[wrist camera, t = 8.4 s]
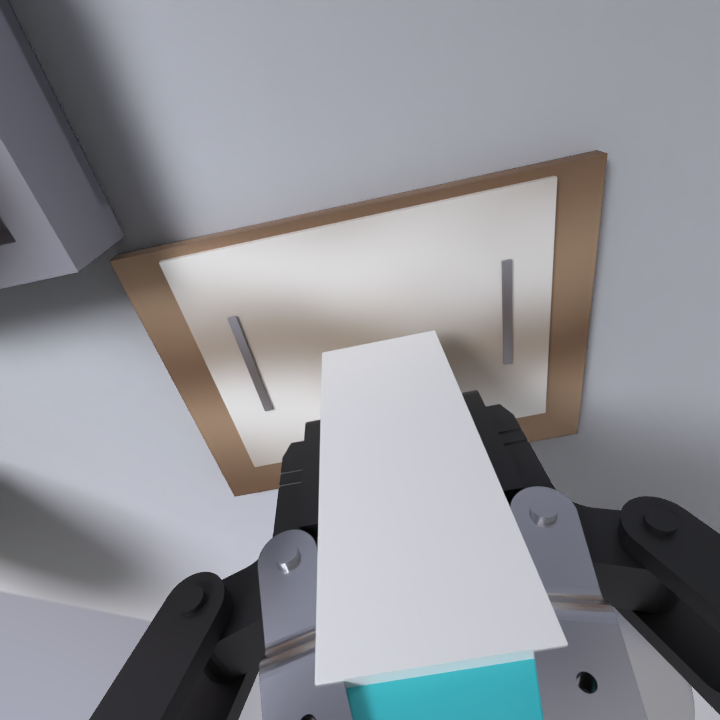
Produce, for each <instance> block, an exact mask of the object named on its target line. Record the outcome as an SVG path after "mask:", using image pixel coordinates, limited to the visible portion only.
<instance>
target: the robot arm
mask: <svg viewBox="0 0 720 720" xmlns="http://www.w3.org/2000/svg"><path fill="white" fill-rule="evenodd" d="M462 395H463V398H464V400H465V403H466V405H467V407H468V410H469V412H470V414H471V417H472V419H473V421H474V424H475V426H476V428H477V431H478V433H479V435H480V438H481V440H482V442H483V445H484V447H485V450H486V452H487V454H488V457H489V459H490V461H491V464H492V466H493V468H494V471H495V473H496V475H497V478H498V480H499V482H500V485H501V487H502V490H503V492H504V494H505V497H506V499H507V501H508V504H509V506H510V508H511V511H512V513H513V515H514V518H515V520H516V522H517V525H518V527H519V530H520V532H521V534H522V537H523V539H524V541H525V544H526V546H527V548H528V551H529V553H530V555H531V558H532V560H533V562H534V565H535V567H536V569H537V572H538V574H539V577H540V579H541V581H542V584H543V586H544V588H545V591H546V593H547V595H548V598H549V600H550V602H551V605H552V607H553V609H554V612H555V614H556V617H557V619H558V621H559V624H560V626H561V628H562V631H563V633H564V635H565V638H566V640H567V642H568V645H566V646H559V647H553V648H547V649H541V650H534V655H533V660H534V667H535V674H536V681H537V687H538V694H539V701H540V708H541V715H542V720H648V718H647V714H646V711H645V708H644V704H643V701H642V698H641V695H640V691H639V688H638V685H637V681H636V678H635V675H634V672H633V668H632V665H631V662H630V658H629V655H628V652H627V649H626V645H625V642H624V639H623V635H622V632H621V629H620V626H619V622H618V619H617V617H616V614H615V612H614V609H613V607H615V609H616V610H617V611H618V612H619V613H620V614H621V615H622V616H623V617H624V618H625V619H626V620H627V621H628V622H629V623H630V624H631V625H632V626H633V627H634V628H635V629H636V630H637V631H638V632H639V633H640V634H641V635H642V636H643V637H644V638H645V639H646V640H647V641H648V642H649V643H650V644H651V645H652V646H653V647H654V648H655V649H656V651H657V652H658V653H659V654H660V655H661V656H662V657H663V658H664V659H665V660H666V661H667V662H668V663H669V664H670V665H671V666H672V667H673V668H674V669H675V670H676V671H677V672H678V673H679V674H680V675H681V676H682V677H683V678H684V679H685V680H686V681H687V682H688V683H689V684H690V685H691V686H692V687H693V688H694V689H695V690H696V691H697V692H698V693H699V694H700V695H701V696H702V697H703V698H704V699H705V700H706V701H707V702H708V703H709V704H710V705H711V706H712V707H713V708H714V709H715V710H716V711H717V712H718V713H719V714H720V534H719V533H717V532H716V531H715V530H713V529H712V528H710V527H709V526H708V525H706V524H705V523H703V522H702V521H700V520H699V519H698V518H696V517H695V516H693V515H692V514H691V513H689V512H688V511H686V510H685V509H683V508H682V507H680V506H679V505H677V504H675V503H673V502H671V501H668V500H665V499H662V498H658V497H646V496H645V497H638V498H634V499H632V500H630V501H628V502H627V503H626V504H625V505H624V506H623V508H622V510H621V511H619V510H609V509H600V508H591V507H586V506H582V505H579V504H577V503H574V502H572V501H571V500H570V499H569V498H568V497H567V496H565V495H564V494H562V493H561V492H559V491H557V490H556V489H555V488H554V486H553V485H552V483H551V481H550V479H549V478H548V476H547V474H546V472H545V470H544V469H543V467H542V465H541V463H540V461H539V460H538V458H537V456H536V454H535V452H534V451H533V449H532V447H531V445H530V443H529V442H528V441H527V438H526V436H525V434H524V432H523V431H522V430H521V427H520V425H519V423H518V422H517V420H516V418H515V416H514V414H512V413H511V412H510V411H508V410H507V409H506V408H504V407H503V406H502V405H500V404H496V405H491V406H485V404H484V402H483V400H482V398H481V396H480V394H479V392H478V391H477V390H473V391H468V392H463V393H462ZM320 420H321V419H320ZM320 420H315V421H310V422H306V424H305V434H304V441H299V442H294V443H291V444H290V446H289V447H288V449H287V451H286V452H285V454H284V456H283V458H282V466H281V475H280V483H279V485H280V488H279V491H278V499H277V508H276V516H275V524H274V533H273V538H272V539H271V540H270V541H269V542H268V543H267V544H266V545H265V546H264V548H263V549H262V551H261V553H260V556H259V559H258V560H257V561H256V562H254V563H253V564H252V565H250V566H248V567H247V568H245V569H243V570H241V571H239V572H237V573H235V574H233V575H231V576H229V577H227V578H225V579H223V580H221V578H220V577H219V576H217V575H216V574H214V573H211V572H200V573H196V574H194V575H191V576H189V577H188V578H186V579H184V580H183V581H182V582H180V583H179V584H178V585H177V586H176V587H175V588H174V589H173V590H172V591H171V593H170V594H169V596H168V597H167V599H166V600H165V602H164V603H163V605H162V607H161V608H160V610H159V611H158V613H157V614H156V616H155V618H154V619H153V621H152V622H151V624H150V625H149V627H148V629H147V630H146V632H145V633H144V635H143V636H142V638H141V639H140V641H139V643H138V644H137V646H136V647H135V649H134V650H133V652H132V654H131V655H130V657H129V658H128V660H127V661H126V663H125V665H124V666H123V668H122V669H121V671H120V672H119V674H118V676H117V677H116V679H115V680H114V682H113V683H112V685H111V687H110V688H109V690H108V691H107V693H106V694H105V696H104V697H103V699H102V701H101V702H100V704H99V706H98V707H97V708H96V710H95V712H94V713H93V715H92V716H91V718H90V719H89V720H238V719H239V717H240V714H241V711H242V710H243V707H244V705H245V702H246V700H247V698H248V695H249V693H250V691H251V688H252V686H253V683H254V681H255V679H256V676H257V674H258V672H259V682H260V694H261V707H262V720H355V719H354V715H353V711H352V706H351V702H350V697H349V693H348V689H347V686H346V684H345V682H344V681H339V682H332V683H326V684H320V685H315V646H316V601H317V556H318V510H319V465H320Z"/></svg>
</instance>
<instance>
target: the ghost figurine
mask: <svg viewBox="0 0 720 720" xmlns="http://www.w3.org/2000/svg"><path fill="white" fill-rule="evenodd" d="M613 609H614V612H615V614H616V617H617V619H618V622H619V626H620V629H621V632H622V635H623V639H624V642H625V645H626V649H627V652H628V655H629V658H630V662H631V665H632V668H633V672H634V675H635V678H636V681H637V685H638V688H639V691H640V695H641V698H642V701H643V704H644V708H645V711H646V714H647V718H648V720H694V718H695V716H694V715H695V711H694V698H693V692H692V687H691V685H690V684H689V683H688V682H687V681H686V680H685V679H684V678H683V677H682V676H681V675H680V674H679V673H678V672H677V671H676V670H675V669H674V668H673V667H672V666H671V665H670V664H669V663H668V662H667V661H666V660H665V659H664V658H663V657H662V656H661V655H660V654H659V653H658V652H657V651H656V649H655V648H654V647H653V646H652V645H651V644H650V643H649V642H648V641H647V640H646V639H645V638H644V637H643V636H642V635H641V634H640V633H639V632H638V631H637V630H636V629H635V628H634V627H633V626H632V625H631V624H630V623H629V622H628V621H627V620H626V619H625V618H624V617H623V616H622V615H621V614H620V613H619V612H618V611H617V610H616V609H615V607H613Z"/></svg>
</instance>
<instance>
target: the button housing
mask: <svg viewBox="0 0 720 720" xmlns="http://www.w3.org/2000/svg"><path fill="white" fill-rule="evenodd" d="M124 236H125V235H124V233H123V231H122V229H121V227H120V225H119V223H118V221H117V219H116V217H115V215H114V213H113V211H112V209H111V207H110V205H109V203H108V201H107V199H106V197H105V195H104V193H103V191H102V189H101V187H100V185H99V183H98V181H97V179H96V177H95V175H94V173H93V171H92V169H91V167H90V165H89V163H88V161H87V159H86V157H85V155H84V153H83V151H82V149H81V147H80V145H79V143H78V141H77V139H76V137H75V135H74V133H73V131H72V129H71V127H70V125H69V123H68V121H67V119H66V117H65V114H64V112H63V110H62V108H61V106H60V104H59V102H58V100H57V98H56V96H55V94H54V92H53V90H52V88H51V86H50V84H49V82H48V80H47V78H46V76H45V74H44V72H43V70H42V68H41V66H40V64H39V62H38V60H37V58H36V56H35V54H34V52H33V50H32V48H31V46H30V44H29V42H28V40H27V38H26V36H25V34H24V32H23V30H22V28H21V26H20V24H19V22H18V20H17V18H16V16H15V14H14V12H13V10H12V8H11V6H10V4H9V2H8V0H0V289H3V288H7V287H12V286H17V285H21V284H26V283H30V282H35V281H40V280H44V279H49V278H54V277H58V276H63V275H67V274H72V273H77V272H79V271H80V270H82V269H83V268H84V267H86V266H87V265H88V264H89V263H91V262H92V261H93V260H95V259H96V258H97V257H98V256H100V255H101V254H102V253H104V252H105V251H106V250H107V249H109V248H110V247H111V246H113V245H114V244H115V243H116V242H118V241H119V240H120V239H122V238H123V237H124Z"/></svg>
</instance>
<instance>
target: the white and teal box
mask: <svg viewBox="0 0 720 720" xmlns="http://www.w3.org/2000/svg"><path fill="white" fill-rule="evenodd" d="M566 645H568V642H567V640H566V638H565V635H564V633H563V631H562V628H561V626H560V624H559V621H558V619H557V617H556V614H555V612H554V609H553V607H552V605H551V602H550V600H549V598H548V595H547V593H546V591H545V588H544V586H543V584H542V581H541V579H540V577H539V574H538V572H537V569H536V567H535V565H534V562H533V560H532V558H531V555H530V553H529V551H528V548H527V546H526V544H525V541H524V539H523V537H522V534H521V532H520V530H519V527H518V525H517V522H516V520H515V518H514V515H513V513H512V511H511V508H510V506H509V504H508V501H507V499H506V497H505V494H504V492H503V490H502V487H501V485H500V482H499V480H498V478H497V475H496V473H495V471H494V468H493V466H492V464H491V461H490V459H489V457H488V454H487V452H486V450H485V447H484V445H483V442H482V440H481V438H480V435H479V433H478V431H477V428H476V426H475V424H474V421H473V419H472V417H471V414H470V412H469V410H468V407H467V405H466V403H465V400H464V398H463V395H462V393H461V391H460V388H459V386H458V384H457V381H456V379H455V377H454V374H453V372H452V370H451V367H450V365H449V363H448V360H447V358H446V355H445V353H444V351H443V348H442V346H441V344H440V341H439V339H438V337H437V334H436V332H435V330H433V331H428V332H423V333H418V334H413V335H408V336H403V337H398V338H393V339H388V340H383V341H378V342H373V343H368V344H363V345H358V346H353V347H348V348H343V349H338V350H333V351H328V352H323V353H322V375H321V420H320V465H319V510H318V556H317V601H316V646H315V685H320V684H326V683H332V682H339V681H344V682H345V684H346V686H347V689H348V693H349V697H350V702H351V706H352V711H353V715H354V719H355V720H542V715H541V708H540V701H539V694H538V687H537V681H536V674H535V667H534V660H533V655H534V650H541V649H547V648H553V647H559V646H566Z"/></svg>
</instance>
